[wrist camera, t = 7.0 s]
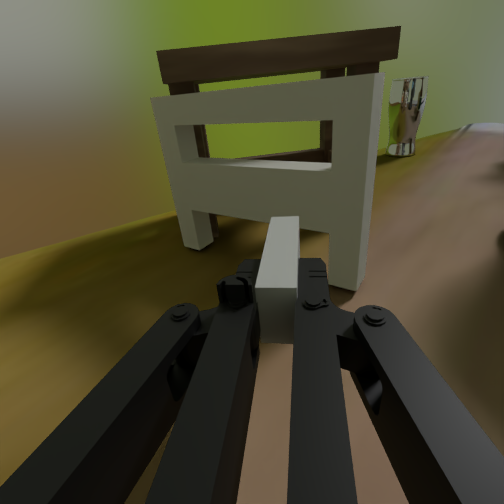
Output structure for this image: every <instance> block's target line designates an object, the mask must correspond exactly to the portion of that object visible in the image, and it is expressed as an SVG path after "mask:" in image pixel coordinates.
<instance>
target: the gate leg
mask: <svg viewBox="0 0 504 504" xmlns="http://www.w3.org/2000/svg"><path fill="white" fill-rule="evenodd" d="M384 77H385V72H382V73H372V74H363V75H354V76H345V77H336V78H327V79H318V80H308V81H299V82H290V83H281V84H272V85H263V86H254V87H244V88H235V89H227V90H217V91H209V92H199V93H190V94H180V95H171V96H162V97H153V98H150V99H151V103H152V107H153V112H154V116H155V121H156V124H157V129H158V134H159V138H160V143H161V147H162V151H163V156H164V160H165V164H166V168H167V173H168V177H169V182H170V186H171V190H172V195H173V199H174V203H175V208H176V212H177V217H178V221H179V225H180V230H181V234H182V238H183V243H184V246H185V247H189V248H193V249H196V250H201V249H203V248H204V247H206V246H207V245H209V244H210V243H212V242H213V236H212V230H211V224H210V219H209V213H213V214H219V215H225V216H231V217H236V218H242V219H248V220H254V221H260V222H266V223H270V220H271V217H287V216H299V228H301V229H307V230H313V231H319V232H325V233H330V234H329V268H328V284H330V285H334V286H338V287H341V288H345V289H349V290H353V291H357V289H358V288H359V286H360V284H361V282H362V281H363V279H364V277H365V270H366V260H367V250H368V240H369V230H370V220H371V209H372V199H373V189H374V179H375V169H376V159H377V148H378V137H379V127H380V118H381V108H382V97H383V87H384ZM318 120H319V121H320V120H333V131H332V163H319V162H296V161H273V160H250V159H225V158H203V157H199V156H198V150H197V145H196V139H195V133H194V128H193V125H202V124H231V123H260V122H288V121H289V122H290V121H318Z"/></svg>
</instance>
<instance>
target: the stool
mask: <svg viewBox="0 0 504 504" xmlns="http://www.w3.org/2000/svg"><path fill="white" fill-rule="evenodd" d="M400 31H401V26H395V27H386V28H377V29H366V30H356V31H346V32H337V33H328V34H317V35H307V36H298V37H288V38H278V39H268V40H259V41H249V42H240V43H229V44H220V45H209V46H200V47H190V48H181V49H170V50H160V51H156V52H157V57H158V61H159V67H160V72H161V76H162V81H163V84H168V86H169V91H170V96H171V95H180V94H190V93H199V92H200V91H199V85H198V84H203V83H213V82H222V81H231V80H240V79H250V78H259V77H268V76H277V75H287V74H295V73H305V72H314V71H321V79H327V78H336V77H345V68H346V67H347V76H354V75H363V74H372V73H379V62H380V61H386V60H392V59H397V57H398V49H399V40H400ZM193 128H194V133H195V139H196V145H197V150H198V156H199V157H203V158H210V154H209V148H208V141H207V135H206V129H205V124H202V125H193ZM332 131H333V120H320V148H317V149H309V150H301V151H293V152H284V153H276V154H268V155H260V156H251V157H243V158H235V159H250V160H273V161H296V162H319V163H332ZM209 219H210V224H211V230H212V236H213V238H215V237H219V231H218V223H217V217H216V214H213V213H209Z"/></svg>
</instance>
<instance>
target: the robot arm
mask: <svg viewBox="0 0 504 504" xmlns="http://www.w3.org/2000/svg"><path fill="white" fill-rule="evenodd" d="M216 285H217V291H218V296H219V301H220V303H219V306H218V307H215V308H212V309H209V310H204V311H199V310H198V308H197V307H196V306H195V305H193V304H191V303H183V304H178V305H175V306H173V307H171V308H170V309H169V310H167V311H166V312H165V313H164V314H163V315H162V316H161V317H160V319H159V320H158V321H157V322H156V323H155V324H154V325H153V326H152V327H151V328H150V329H149V330H148V331H147V332H146V333H145V334H144V335H143V336H142V338H141V339H140V340H139V341H138V342H137V343H136V344H135V345H134V346H133V347H132V348H131V349H130V350H129V351H128V352H127V353H126V354H125V356H124V357H123V358H122V359H121V360H120V361H119V362H118V363H117V364H116V365H115V366H114V367H113V368H112V369H111V370H110V371H109V372H108V374H107V375H106V376H105V377H104V378H103V379H102V380H101V381H100V382H99V383H98V384H97V385H96V386H95V387H94V388H93V389H92V390H91V392H90V393H89V394H88V395H87V396H86V397H85V398H84V399H83V400H82V401H81V402H80V403H79V404H78V405H77V406H76V407H75V408H74V410H73V411H72V412H71V413H70V414H69V415H68V416H67V417H66V418H65V419H64V420H63V421H62V422H61V423H60V424H59V425H58V426H57V427H56V429H55V430H54V431H53V432H52V433H51V434H50V435H49V436H48V437H47V438H46V439H45V440H44V441H43V442H42V443H41V444H40V445H39V447H38V448H37V449H36V450H35V451H34V452H33V453H32V454H31V455H30V456H29V457H28V458H27V459H26V460H25V461H24V462H23V463H22V465H21V466H20V467H19V468H18V469H17V470H16V471H15V472H14V473H13V474H12V475H11V476H10V477H9V478H8V479H7V480H6V481H5V483H4V484H3V485H2V486H1V487H0V504H124V502H125V501H126V499H127V498H128V496H129V494H130V493H131V491H132V490H133V488H134V486H135V485H136V483H137V482H138V480H139V478H140V477H141V475H142V474H143V472H144V470H145V469H146V467H147V465H148V464H149V462H150V461H151V459H152V457H153V456H154V454H155V453H156V451H157V449H158V448H159V446H160V445H161V443H162V441H163V440H164V438H165V437H166V435H167V433H168V432H169V430H170V429H171V427H172V425H173V424H174V422H175V424H174V427H173V429H172V432H171V435H170V437H169V440H168V443H167V445H166V448H165V451H164V453H163V456H162V459H161V461H160V464H159V467H158V470H157V472H156V475H155V478H154V480H153V483H152V486H151V488H150V491H149V494H148V496H147V499H146V502H145V504H236V502H237V495H238V489H239V483H240V476H241V470H242V463H243V457H244V451H245V444H246V438H247V431H248V425H249V418H250V412H251V406H252V399H253V393H254V386H255V380H256V373H257V367H258V361H259V354H260V351H259V338H261V343H283V344H293V368H292V392H291V417H290V442H289V467H288V492H287V504H358V503H357V495H356V487H355V479H354V472H353V464H352V456H351V448H350V440H349V432H348V424H347V416H346V408H345V400H344V392H343V384H342V377H341V369H340V368H342V369H345V370H348V371H350V374H351V377H352V379H353V381H354V384H355V386H356V388H357V390H358V392H359V395H360V397H361V399H362V401H363V403H364V405H365V408H366V410H367V412H368V414H369V416H370V419H371V421H372V423H373V425H374V427H375V430H376V432H377V434H378V436H379V438H380V441H381V443H382V445H383V447H384V449H385V452H386V454H387V456H388V458H389V460H390V463H391V465H392V467H393V469H394V471H395V474H396V476H397V478H398V480H399V482H400V485H401V487H402V489H403V491H404V493H405V496H406V498H407V500H408V502H409V504H504V457H503V455H502V454H501V453H500V452H499V450H498V449H497V448H496V446H495V445H494V444H493V442H492V441H491V440H490V439H489V437H488V436H487V435H486V433H485V432H484V431H483V429H482V428H481V427H480V426H479V424H478V423H477V422H476V420H475V419H474V418H473V416H472V415H471V414H470V413H469V411H468V410H467V409H466V407H465V406H464V405H463V403H462V402H461V401H460V400H459V398H458V397H457V396H456V394H455V393H454V392H453V390H452V389H451V388H450V387H449V385H448V384H447V383H446V381H445V380H444V379H443V378H442V376H441V375H440V374H439V372H438V371H437V370H436V368H435V367H434V366H433V365H432V363H431V362H430V361H429V359H428V358H427V357H426V355H425V354H424V353H423V352H422V350H421V349H420V348H419V346H418V345H417V344H416V342H415V341H414V340H413V339H412V337H411V336H410V335H409V333H408V332H407V331H406V329H405V328H404V327H403V326H402V324H401V323H400V322H399V320H398V319H397V318H396V316H395V315H394V314H393V313H392V312H390V311H389V310H387V309H385V308H383V307H379V306H375V305H366V306H363V307H360V308H359V309H357V310H356V311H355V313H353V312H348V311H345V310H342V309H340V308H338V307H336V306H335V305H334V304H333V303H332V302H331V300H330V296H329V288H328V280H327V272H326V264H325V263H324V262H323V261H322V259H321V258H300V242H299V216H287V217H271V220H270V224H269V229H268V233H267V237H266V242H265V246H264V250H263V254H262V259H245V260H244V261H243V262H242V263H241V264H240V265H239V266H238V269H237V273H236V275H230V276H227V277H224V278H223V279H221V280H220V281H219V282H218V283H217V284H216Z"/></svg>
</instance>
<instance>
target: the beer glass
mask: <svg viewBox="0 0 504 504" xmlns="http://www.w3.org/2000/svg"><path fill="white" fill-rule="evenodd" d="M427 87H428V76H421V77H410V78H400V79H393V80H392V86H391V92H390V98H389V107H388V114H389V115H388V117H389V142H388V146H387V149H386V153H385V154H386V155H387V156H391V157H408V156H412V155H414V154H415V138H416V133H417V130H418V126H419V124H420V121H421V118H422V114H423V111H424V107H425V103H426V96H427Z"/></svg>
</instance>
